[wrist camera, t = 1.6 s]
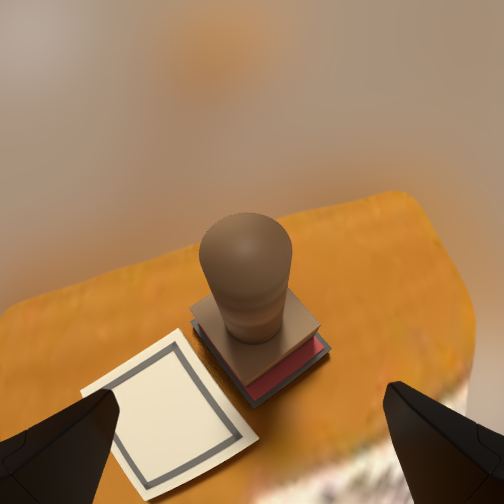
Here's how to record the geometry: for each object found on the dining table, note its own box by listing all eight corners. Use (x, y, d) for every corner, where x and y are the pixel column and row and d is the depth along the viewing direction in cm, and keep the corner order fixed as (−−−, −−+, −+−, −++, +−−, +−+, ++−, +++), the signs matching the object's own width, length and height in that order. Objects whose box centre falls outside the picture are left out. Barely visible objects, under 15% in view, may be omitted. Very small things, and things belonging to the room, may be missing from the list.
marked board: (259, 437, 18) (259, 439, 17) (149, 498, 15) (144, 501, 14) (181, 331, 22) (178, 327, 21) (86, 392, 19) (79, 390, 18)
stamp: (313, 337, 20) (354, 260, 11) (245, 387, 19) (224, 358, 9) (263, 278, 23) (259, 172, 14) (198, 322, 21) (145, 239, 12)
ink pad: (329, 350, 21) (332, 347, 20) (253, 409, 19) (253, 408, 18) (264, 276, 24) (264, 270, 23) (192, 324, 22) (189, 320, 21)
